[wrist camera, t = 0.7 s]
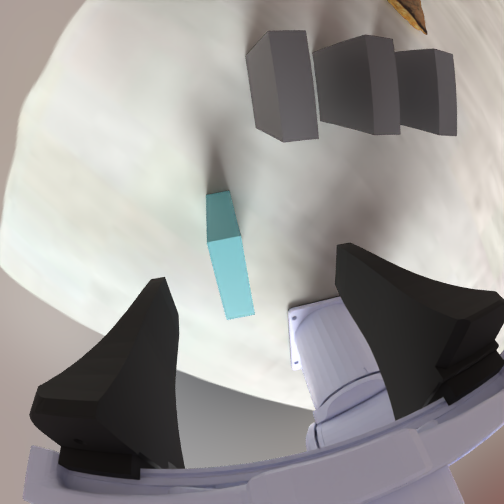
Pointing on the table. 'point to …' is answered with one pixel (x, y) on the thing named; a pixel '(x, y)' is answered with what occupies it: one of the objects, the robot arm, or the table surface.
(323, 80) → the domino
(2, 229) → the table surface
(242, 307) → the domino
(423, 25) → the shard
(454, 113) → the domino
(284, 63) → the domino
